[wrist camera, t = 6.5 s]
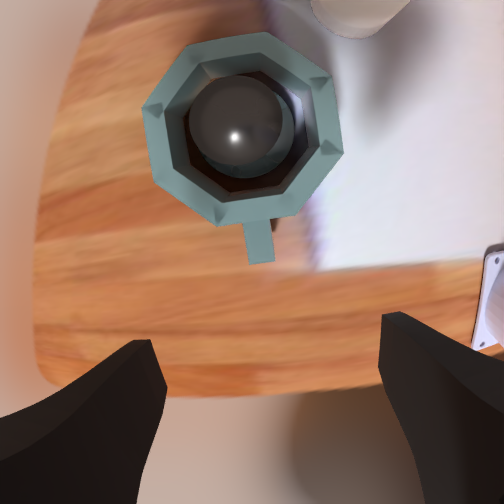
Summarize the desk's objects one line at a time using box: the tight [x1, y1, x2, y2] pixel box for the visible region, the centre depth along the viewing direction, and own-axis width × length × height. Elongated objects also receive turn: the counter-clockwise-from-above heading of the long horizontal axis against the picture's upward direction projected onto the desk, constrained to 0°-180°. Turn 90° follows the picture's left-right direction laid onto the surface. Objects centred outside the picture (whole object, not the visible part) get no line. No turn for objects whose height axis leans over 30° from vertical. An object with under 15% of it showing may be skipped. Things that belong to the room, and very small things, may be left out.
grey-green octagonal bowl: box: [142, 32, 344, 265], centre depth 15 cm, size 8×10×4 cm
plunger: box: [189, 75, 294, 178], centre depth 13 cm, size 5×5×6 cm
